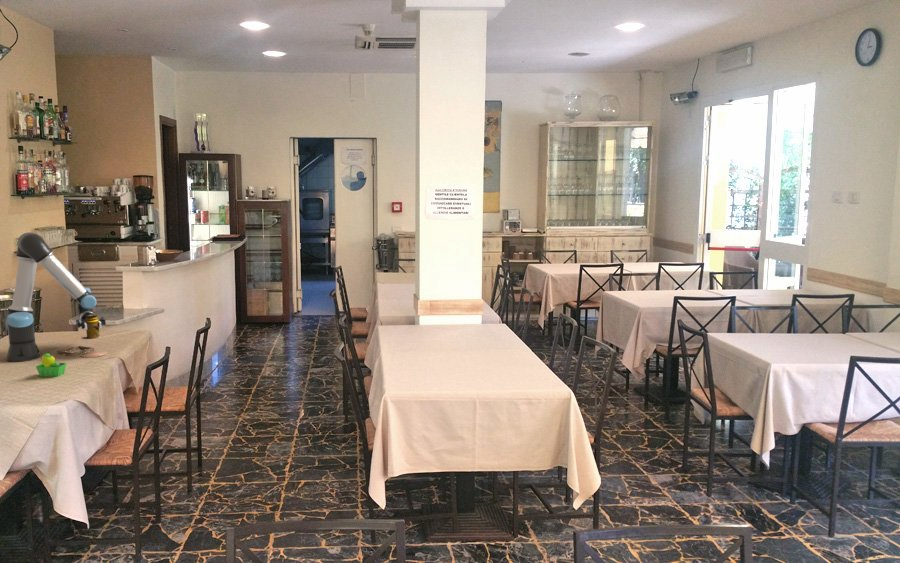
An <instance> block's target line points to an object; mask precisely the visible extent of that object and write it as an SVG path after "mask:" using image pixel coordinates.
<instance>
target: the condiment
mask: <svg viewBox="0 0 900 563" xmlns="http://www.w3.org/2000/svg"><path fill="white" fill-rule="evenodd" d="M97 318H98V315H97V314H95V313H94V314H92V315H87V316H86V324H87V330H86V329H85V330H86V336H81V337H80V338H81V339H82V340H84V341H87V340H88V341H89V340H94V339H95V340H96V339H101V338H102V336H101V335H100V327H99V323H98V319H99V318H98V319H97Z"/></svg>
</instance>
